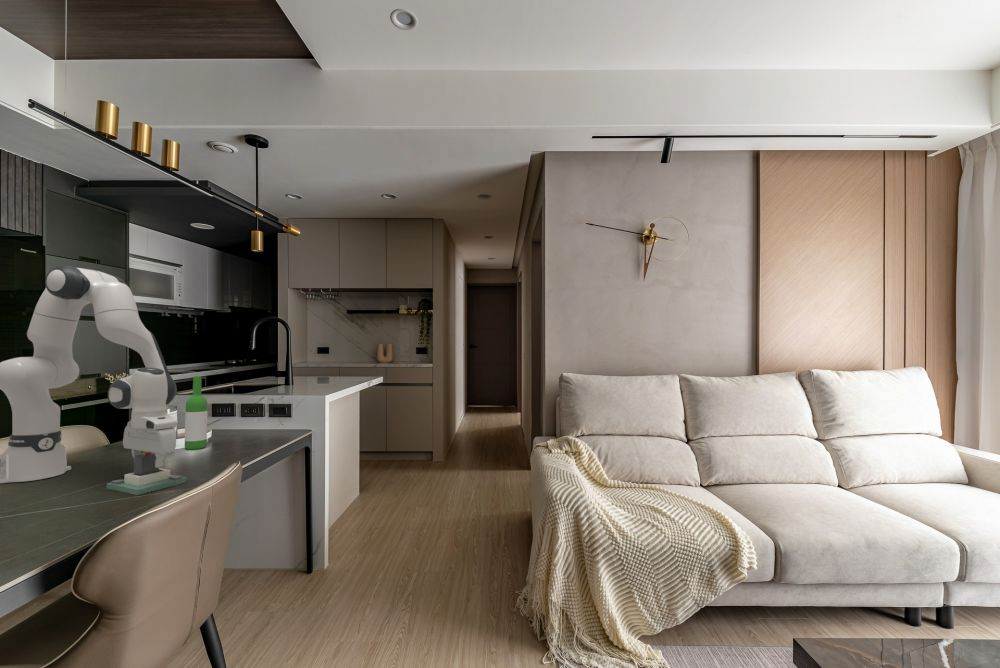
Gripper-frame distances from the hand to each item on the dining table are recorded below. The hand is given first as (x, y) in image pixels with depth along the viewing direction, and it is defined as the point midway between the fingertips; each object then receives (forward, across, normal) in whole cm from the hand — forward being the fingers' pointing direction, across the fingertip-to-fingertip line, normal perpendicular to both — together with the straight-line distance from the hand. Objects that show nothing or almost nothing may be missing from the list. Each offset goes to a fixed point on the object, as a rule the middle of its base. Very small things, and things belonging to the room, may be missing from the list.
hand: (147, 465), depth 144 cm
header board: (+6, 0, 0) cm, 6 cm away
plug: (+5, 0, 0) cm, 5 cm away
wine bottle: (+6, -36, +40) cm, 55 cm away
